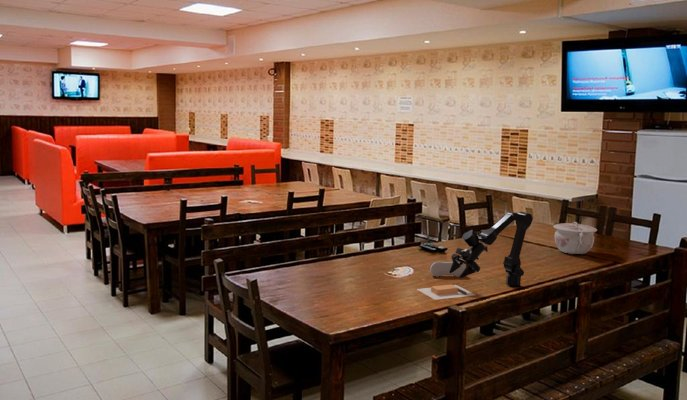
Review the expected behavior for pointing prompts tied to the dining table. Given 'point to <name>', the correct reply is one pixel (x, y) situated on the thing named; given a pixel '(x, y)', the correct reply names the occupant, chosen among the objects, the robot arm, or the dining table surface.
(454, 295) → the mat
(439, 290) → the orange block
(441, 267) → the grey rounded panel
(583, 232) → the chamber pot
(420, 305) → the dining table surface
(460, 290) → the long brown bar
